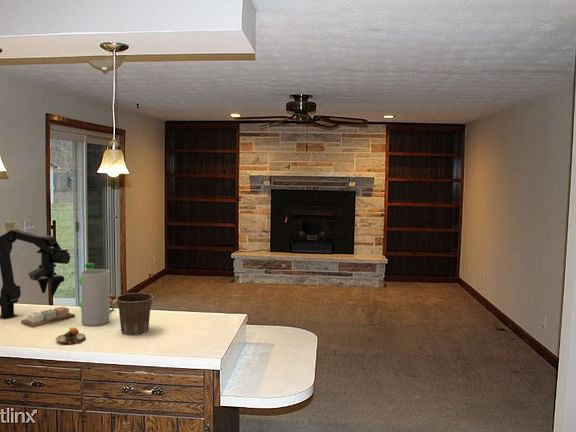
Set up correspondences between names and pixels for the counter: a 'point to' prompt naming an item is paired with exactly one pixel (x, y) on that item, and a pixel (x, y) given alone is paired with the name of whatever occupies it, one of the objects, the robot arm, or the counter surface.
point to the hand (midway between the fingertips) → (48, 294)
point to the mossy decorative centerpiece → (71, 337)
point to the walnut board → (47, 320)
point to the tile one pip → (35, 317)
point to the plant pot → (134, 312)
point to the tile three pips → (61, 311)
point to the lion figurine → (111, 304)
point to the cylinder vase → (95, 297)
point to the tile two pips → (49, 314)
